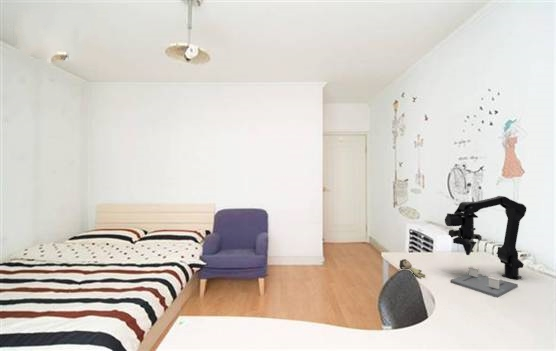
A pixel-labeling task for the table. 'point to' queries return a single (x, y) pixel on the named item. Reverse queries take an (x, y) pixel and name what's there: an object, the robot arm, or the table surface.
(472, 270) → the fader
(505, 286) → the console
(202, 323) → the table surface
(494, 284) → the fader
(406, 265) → the figurine
